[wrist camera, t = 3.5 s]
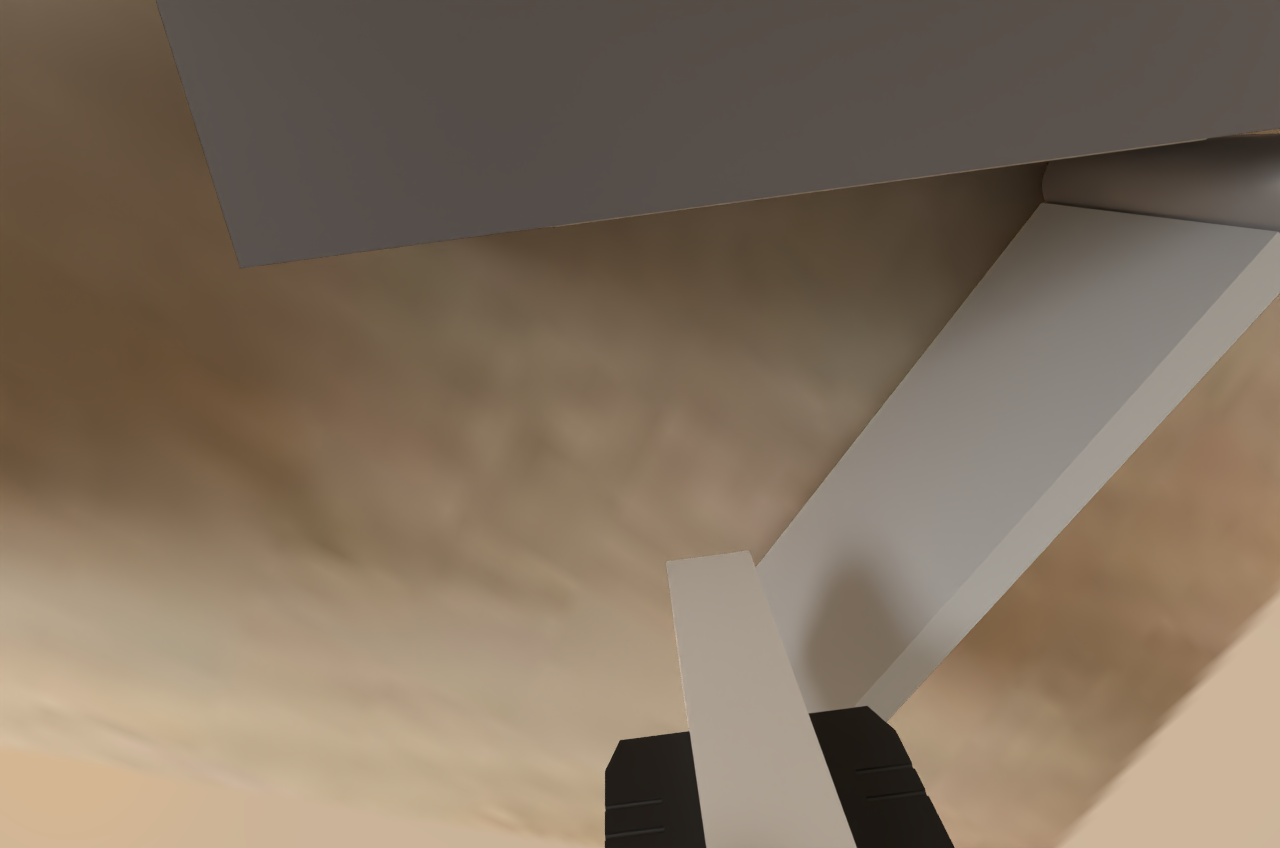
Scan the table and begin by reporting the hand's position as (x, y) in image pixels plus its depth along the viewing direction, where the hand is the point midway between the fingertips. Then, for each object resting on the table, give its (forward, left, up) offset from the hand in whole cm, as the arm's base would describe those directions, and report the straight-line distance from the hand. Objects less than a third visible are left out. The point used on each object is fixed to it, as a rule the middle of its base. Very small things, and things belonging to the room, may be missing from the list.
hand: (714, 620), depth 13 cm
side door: (+7, +1, -7) cm, 9 cm away
